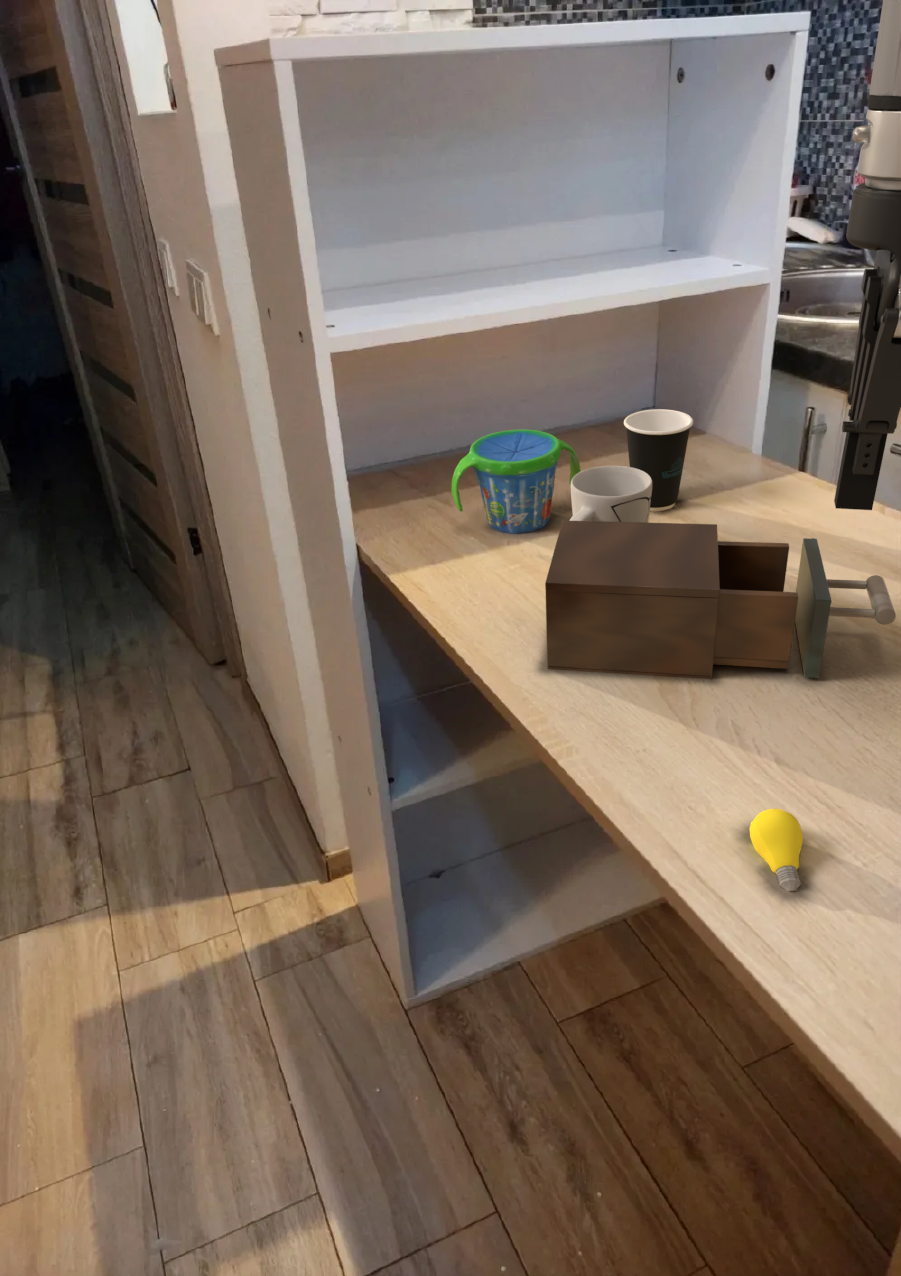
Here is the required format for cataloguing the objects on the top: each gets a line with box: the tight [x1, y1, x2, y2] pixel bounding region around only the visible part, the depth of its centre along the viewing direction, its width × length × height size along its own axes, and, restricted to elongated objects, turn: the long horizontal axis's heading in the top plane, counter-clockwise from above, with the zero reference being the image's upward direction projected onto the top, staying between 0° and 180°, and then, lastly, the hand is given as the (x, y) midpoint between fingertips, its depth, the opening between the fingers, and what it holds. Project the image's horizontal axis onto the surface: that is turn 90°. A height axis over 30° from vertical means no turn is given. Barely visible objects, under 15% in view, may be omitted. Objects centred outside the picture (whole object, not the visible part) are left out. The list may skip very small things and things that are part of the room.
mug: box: [568, 465, 652, 523], centre depth 99 cm, size 11×8×10 cm
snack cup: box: [451, 429, 582, 535], centre depth 110 cm, size 16×10×10 cm
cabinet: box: [544, 520, 720, 680], centre depth 86 cm, size 15×13×10 cm
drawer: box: [713, 537, 897, 679], centre depth 84 cm, size 19×11×8 cm, turn 77°
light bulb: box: [748, 808, 804, 892], centre depth 63 cm, size 3×6×4 cm, turn 0°
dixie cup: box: [623, 408, 694, 512], centre depth 111 cm, size 8×8×11 cm
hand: (852, 505), depth 74 cm, fingers closed
